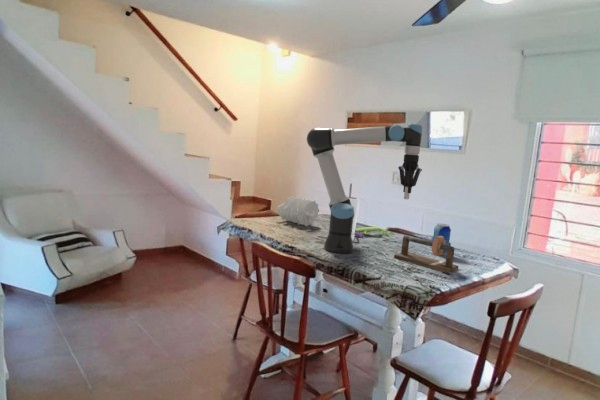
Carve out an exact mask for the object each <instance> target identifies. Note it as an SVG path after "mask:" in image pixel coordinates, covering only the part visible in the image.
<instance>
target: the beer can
mask: <svg viewBox="0 0 600 400" xmlns="http://www.w3.org/2000/svg"><path fill="white" fill-rule="evenodd" d="M451 231H452V230H451V227H450V224H446V223H436V226H435V227H434V229H433V237H432V242H434V239H435V238H436V237H437V236H443V237H444V239H445V241H446V242H445V245H448V246H450V238H451ZM441 256H447V250H443V253H442V255H441Z"/></svg>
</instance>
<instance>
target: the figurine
mask: <svg viewBox="0 0 600 400" xmlns="http://www.w3.org/2000/svg"><path fill="white" fill-rule="evenodd" d="M355 229H356V230H355V232H354V233H355V236H356V237H358V238H362V237H363V238H364V236H365V235H366V234H367V233H371V232H376V231H378V232H380V234H381V235H385V236H390V235H391V236H395V235H396V234H395V232H388V229H387V228H384V229H383V228H380V227H377V226H366V227H364V226H363V227H358V228H355Z"/></svg>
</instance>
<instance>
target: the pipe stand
mask: <svg viewBox="0 0 600 400" xmlns="http://www.w3.org/2000/svg"><path fill="white" fill-rule="evenodd" d="M410 242H412V243H415V244H420V245H422V246H423V245H424V246H428V247H431V248H432V244H433V241H431V240H427V239H423V238H417V237H414V236H411V235H405V234H404V235H403V237H402V242H401V243H402V245H401V252H400V253H396V254H394V256H393V258H395V259H398V260H400V261H401V260H402V261H405V262H407V263H411V264H415V265H418V266H422V267H425V268H428V269H432V270H435V271H440V272H443V273H446V274H447V273H449V272H452V271H453V272H454V271H456V270H459V265H457V264H453V263H454V256H455V246H451V245H449V246H448V245H444V244H441V243H440V244H439V249H443V250H447V254H446V258H445V261H442V260H439V259H434V258H431V257H427V256H423V255H421V254H416V253H414V252H413V253H412V252H410V251H409V246H410Z"/></svg>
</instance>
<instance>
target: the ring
mask: <svg viewBox="0 0 600 400" xmlns="http://www.w3.org/2000/svg"><path fill="white" fill-rule="evenodd" d="M432 242H433V241H432ZM445 242H446V241H445V239H444V237H443V236H437V237H436V238H435V239H434V242H433V244H432V247H431V252H432V255H433V256H435V257H439V256H443V255H442V253H443V249H439V244H440V243H441V244H444V245H445Z"/></svg>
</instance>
